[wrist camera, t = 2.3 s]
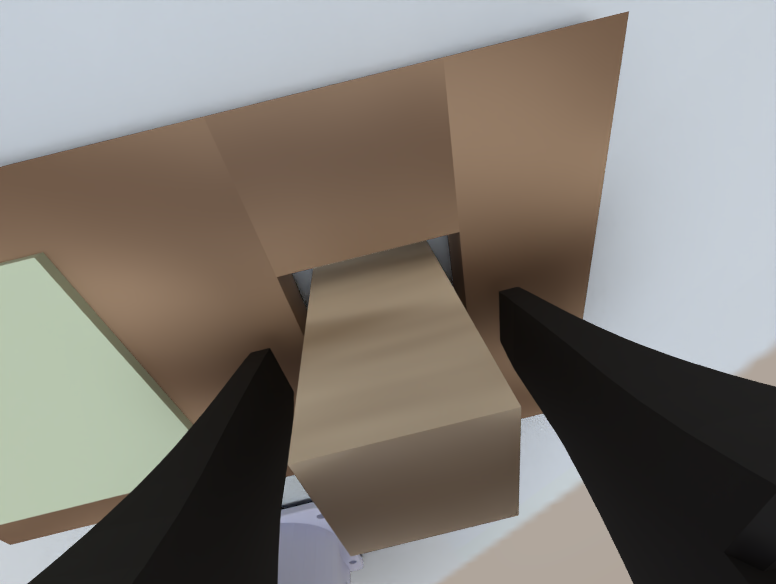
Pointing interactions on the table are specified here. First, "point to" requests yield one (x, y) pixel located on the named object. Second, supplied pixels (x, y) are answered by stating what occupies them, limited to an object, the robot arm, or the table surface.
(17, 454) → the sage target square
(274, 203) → the walnut pocket board
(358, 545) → the maple block
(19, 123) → the table surface
